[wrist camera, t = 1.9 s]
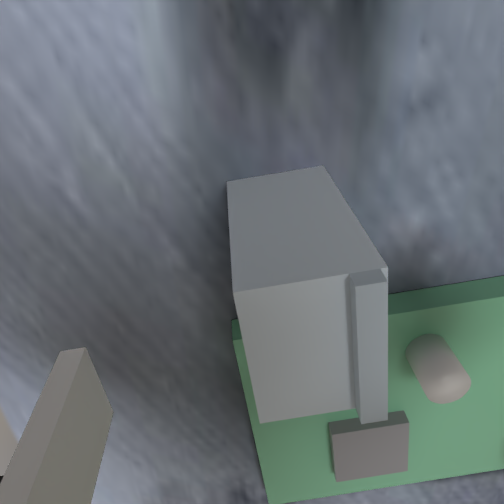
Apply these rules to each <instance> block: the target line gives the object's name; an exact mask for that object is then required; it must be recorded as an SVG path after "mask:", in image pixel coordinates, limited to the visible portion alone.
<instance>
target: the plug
mask: <svg viewBox="0 0 504 504" xmlns="http://www.w3.org/2000/svg"><path fill="white" fill-rule="evenodd" d="M227 199H228V217H229V235H230V252H231V270H232V288H233V296H234V301H235V306H236V311H237V316H238V320H239V325H240V330H241V335H242V340H243V344H244V349H245V354H246V359H247V364H248V369H249V373H250V378H251V383H252V388H253V393H254V397H255V402H256V407H257V412H258V417H259V421H260V424H261V423H267V422H273V421H279V420H286V419H292V418H298V417H305V416H311V415H317V414H323V413H330V412H336V411H342V410H349V409H355V408H356V411H357V413H358V416H359V419H360V422H361V424H366V423H373V422H379V421H385V420H388V266H387V265H386V263H385V262H384V260H383V259H382V257H381V255H380V254H379V252H378V251H377V249H376V248H375V246H374V244H373V243H372V241H371V240H370V238H369V237H368V235H367V233H366V232H365V230H364V229H363V227H362V226H361V224H360V222H359V221H358V219H357V218H356V216H355V214H354V213H353V211H352V210H351V208H350V207H349V205H348V203H347V202H346V200H345V199H344V197H343V196H342V194H341V192H340V191H339V189H338V188H337V186H336V185H335V183H334V181H333V180H332V178H331V177H330V175H329V174H328V172H327V170H326V169H325V167H324V166H323V165H322V166H316V167H310V168H304V169H298V170H292V171H286V172H280V173H274V174H268V175H262V176H256V177H250V178H244V179H238V180H232V181H227Z"/></svg>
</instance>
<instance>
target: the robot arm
mask: <svg viewBox="0 0 504 504" xmlns="http://www.w3.org/2000/svg"><path fill="white" fill-rule="evenodd" d="M113 413H114V412H113V410H112V407H111V405H110V403H109V400H108V398H107V396H106V393H105V391H104V389H103V386H102V384H101V382H100V379H99V377H98V375H97V372H96V370H95V368H94V365H93V363H92V360H91V358H90V356H89V353H88V351H87V349H86V347H83V348H77V349H71V350H65V351H60V353H59V355H58V357H57V359H56V361H55V364H54V366H53V368H52V370H51V372H50V375H49V377H48V379H47V381H46V384H45V386H44V388H43V390H42V392H41V395H40V397H39V399H38V401H37V403H36V406H35V408H34V410H33V412H32V415H31V417H30V419H29V421H28V423H27V426H26V428H25V430H24V432H23V434H22V437H21V439H20V441H19V443H18V445H17V448H16V450H15V452H14V454H13V457H12V459H11V461H10V463H9V465H8V468H7V470H6V472H5V475H4V476H0V504H91V500H92V496H93V492H94V488H95V484H96V480H97V476H98V472H99V468H100V465H101V461H102V457H103V453H104V449H105V445H106V441H107V437H108V433H109V429H110V425H111V421H112V417H113Z"/></svg>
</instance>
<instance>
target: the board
mask: <svg viewBox="0 0 504 504" xmlns="http://www.w3.org/2000/svg"><path fill="white" fill-rule="evenodd" d="M232 339H233V345H234V349H235V354H236V358H237V363H238V367H239V372H240V376H241V381H242V385H243V390H244V394H245V399H246V403H247V408H248V412H249V417H250V421H251V426H252V430H253V435H254V439H255V444H256V448H257V453H258V457H259V462H260V466H261V471H262V475H263V480H264V484H265V489H266V493H267V498H268V502H269V504H283V503H289V502H296V501H302V500H308V499H315V498H321V497H327V496H334V495H340V494H347V493H353V492H359V491H366V490H372V489H378V488H385V487H391V486H397V485H404V484H410V483H416V482H423V481H429V480H435V479H442V478H448V477H454V476H461V475H467V474H473V473H480V472H486V471H492V470H499V469H504V276H499V277H493V278H487V279H480V280H474V281H468V282H462V283H456V284H450V285H444V286H437V287H431V288H425V289H419V290H413V291H407V292H401V293H395V294H388V420H385V421H379V422H373V423H366V424H361V422H360V419H359V416H358V413H357V411H356V408H355V409H349V410H342V411H336V412H330V413H323V414H317V415H311V416H305V417H298V418H292V419H286V420H279V421H273V422H267V423H261V424H260V421H259V417H258V412H257V407H256V402H255V397H254V393H253V388H252V383H251V378H250V373H249V369H248V364H247V359H246V354H245V349H244V344H243V340H242V335H241V330H240V325H239V320H238V319H235V320H232Z"/></svg>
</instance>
